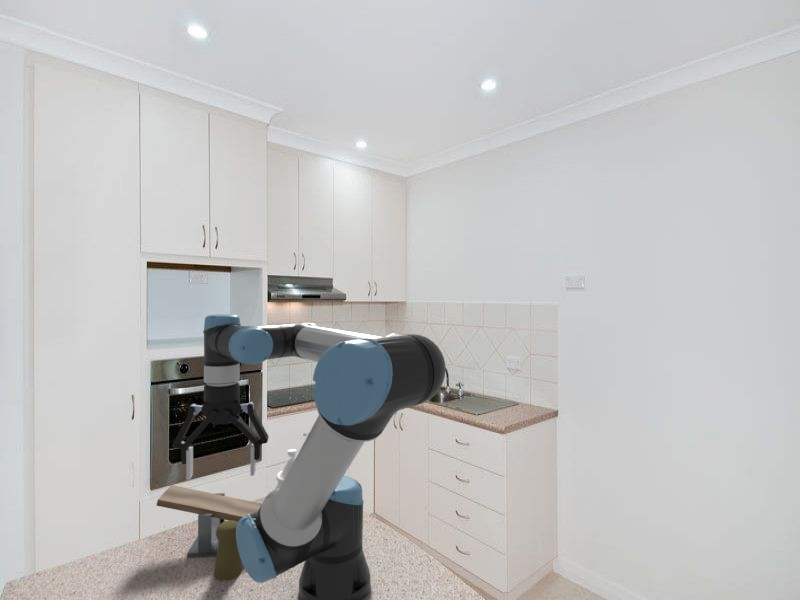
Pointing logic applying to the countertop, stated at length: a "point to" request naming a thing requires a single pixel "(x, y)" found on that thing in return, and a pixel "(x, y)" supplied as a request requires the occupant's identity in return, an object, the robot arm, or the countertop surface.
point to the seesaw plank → (206, 503)
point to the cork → (227, 552)
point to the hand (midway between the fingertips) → (221, 475)
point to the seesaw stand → (206, 536)
